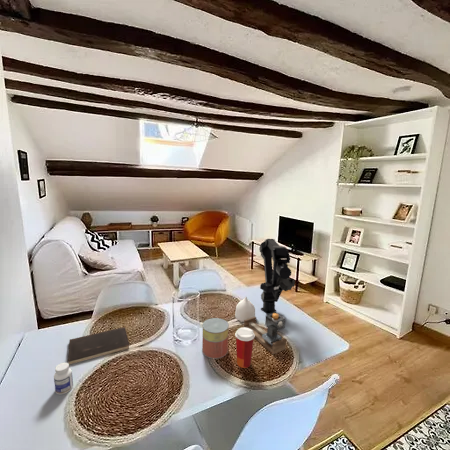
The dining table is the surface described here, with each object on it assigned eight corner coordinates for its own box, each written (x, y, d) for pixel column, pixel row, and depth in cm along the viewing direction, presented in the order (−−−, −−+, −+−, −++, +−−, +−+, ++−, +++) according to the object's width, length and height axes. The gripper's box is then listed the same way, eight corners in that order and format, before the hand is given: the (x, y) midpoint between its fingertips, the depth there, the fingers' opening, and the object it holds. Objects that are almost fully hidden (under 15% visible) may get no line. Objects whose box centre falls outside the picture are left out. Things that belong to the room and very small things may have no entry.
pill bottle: (60, 383, 91) (58, 361, 90) (75, 382, 92) (74, 360, 90) (52, 395, 86) (49, 372, 85) (68, 394, 87) (66, 371, 85)
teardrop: (242, 324, 132) (243, 302, 130) (231, 314, 141) (231, 294, 139) (259, 319, 137) (260, 298, 135) (247, 309, 147) (248, 290, 145)
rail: (243, 328, 128) (244, 320, 127) (254, 324, 132) (255, 316, 131) (273, 354, 110) (274, 344, 109) (285, 349, 113) (286, 339, 112)
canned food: (210, 339, 119) (210, 315, 117) (232, 346, 114) (232, 322, 112) (197, 353, 109) (197, 327, 107) (220, 362, 104) (221, 335, 102)
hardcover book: (129, 349, 111) (129, 345, 110) (67, 366, 100) (67, 361, 100) (124, 330, 125) (124, 326, 124) (70, 343, 114) (69, 338, 113)
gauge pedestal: (265, 324, 132) (265, 315, 131) (275, 320, 136) (275, 312, 135) (274, 331, 126) (275, 322, 125) (285, 327, 130) (285, 318, 129)
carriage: (261, 339, 116) (262, 325, 115) (272, 335, 120) (273, 321, 118) (270, 347, 111) (271, 332, 110) (281, 342, 115) (282, 328, 113)
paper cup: (253, 357, 107) (254, 327, 105) (253, 371, 100) (254, 338, 97) (234, 356, 108) (235, 325, 105) (233, 369, 100) (234, 337, 98)
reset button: (270, 321, 131) (271, 314, 130) (275, 320, 133) (275, 312, 132) (274, 324, 129) (275, 316, 128) (279, 323, 130) (279, 315, 130)
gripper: (275, 280, 117) (273, 311, 120) (303, 273, 127) (301, 302, 130) (260, 272, 126) (258, 301, 129) (287, 266, 136) (285, 294, 139)
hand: (276, 300), depth 131 cm, fingers closed
